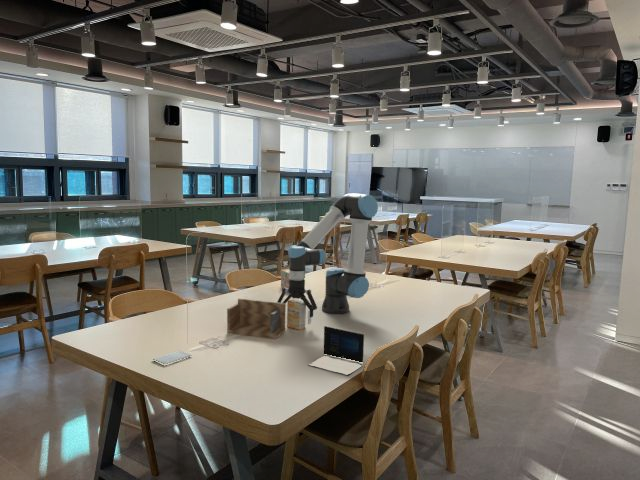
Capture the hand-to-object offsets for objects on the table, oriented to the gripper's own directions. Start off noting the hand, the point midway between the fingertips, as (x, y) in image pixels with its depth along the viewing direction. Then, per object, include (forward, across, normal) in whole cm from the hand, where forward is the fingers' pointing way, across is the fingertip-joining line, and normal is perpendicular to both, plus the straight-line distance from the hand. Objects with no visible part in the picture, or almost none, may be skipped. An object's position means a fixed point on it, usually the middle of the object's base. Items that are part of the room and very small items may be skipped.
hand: (296, 322), depth 229 cm
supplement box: (+3, 0, 0) cm, 3 cm away
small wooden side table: (+3, -15, -13) cm, 20 cm away
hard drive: (+4, -32, -55) cm, 64 cm away
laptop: (+3, +30, -39) cm, 49 cm away
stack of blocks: (+3, -29, +71) cm, 76 cm away
